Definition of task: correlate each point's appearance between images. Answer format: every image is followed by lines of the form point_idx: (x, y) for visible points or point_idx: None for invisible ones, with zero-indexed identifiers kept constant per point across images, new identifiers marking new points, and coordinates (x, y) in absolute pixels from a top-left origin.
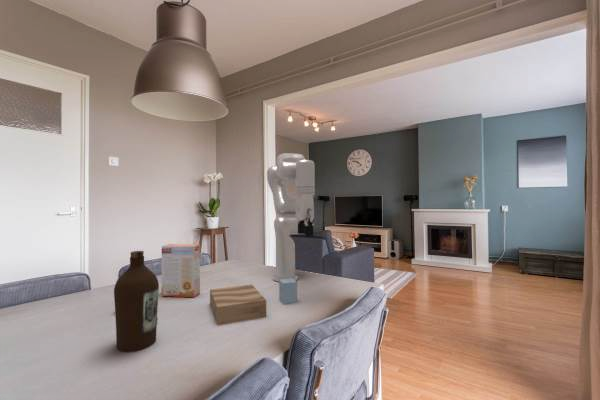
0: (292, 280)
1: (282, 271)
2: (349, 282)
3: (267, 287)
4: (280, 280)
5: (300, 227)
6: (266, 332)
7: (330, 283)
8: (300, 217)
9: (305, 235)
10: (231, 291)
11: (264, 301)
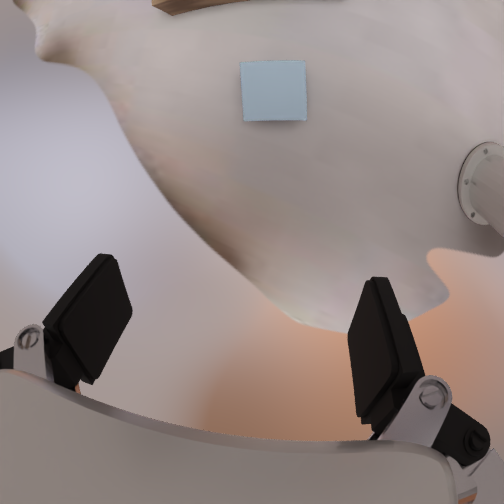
0: (271, 109)
1: (493, 173)
2: None
3: (441, 86)
4: (288, 61)
5: (374, 352)
6: (95, 24)
7: None
8: (17, 416)
9: (96, 256)
10: None
11: (153, 1)
